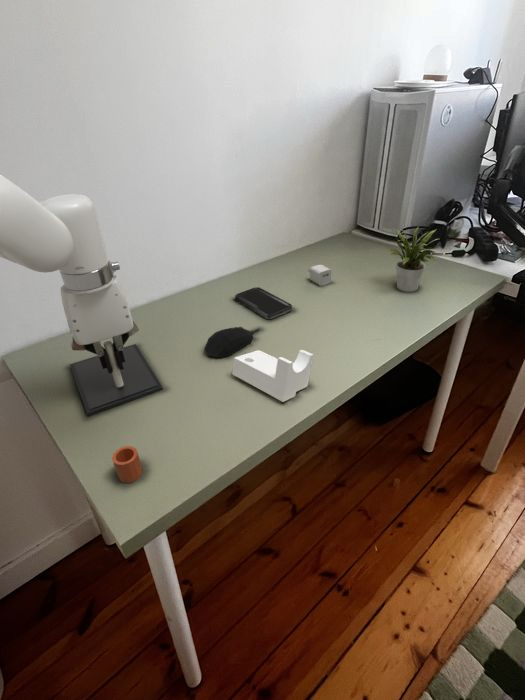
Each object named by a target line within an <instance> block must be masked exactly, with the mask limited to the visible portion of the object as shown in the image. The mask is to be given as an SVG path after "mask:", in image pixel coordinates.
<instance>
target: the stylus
mask: <svg viewBox="0 0 525 700" xmlns="http://www.w3.org/2000/svg"><path fill="white" fill-rule="evenodd" d="M112 344H113V341H111V340H107V341H106V340H105V342H103V348H105V351H106V352H107V354H108V357H109V360H110V364H111V367H112V370H113V372H112V374H113V377H114V381H115V384H116V387H122V386H123V385H124V383H123V380H122V377H121V373H120V370H119V367H118V364H117V360H116V357H115V353H114V349H113V345H112Z"/></svg>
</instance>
